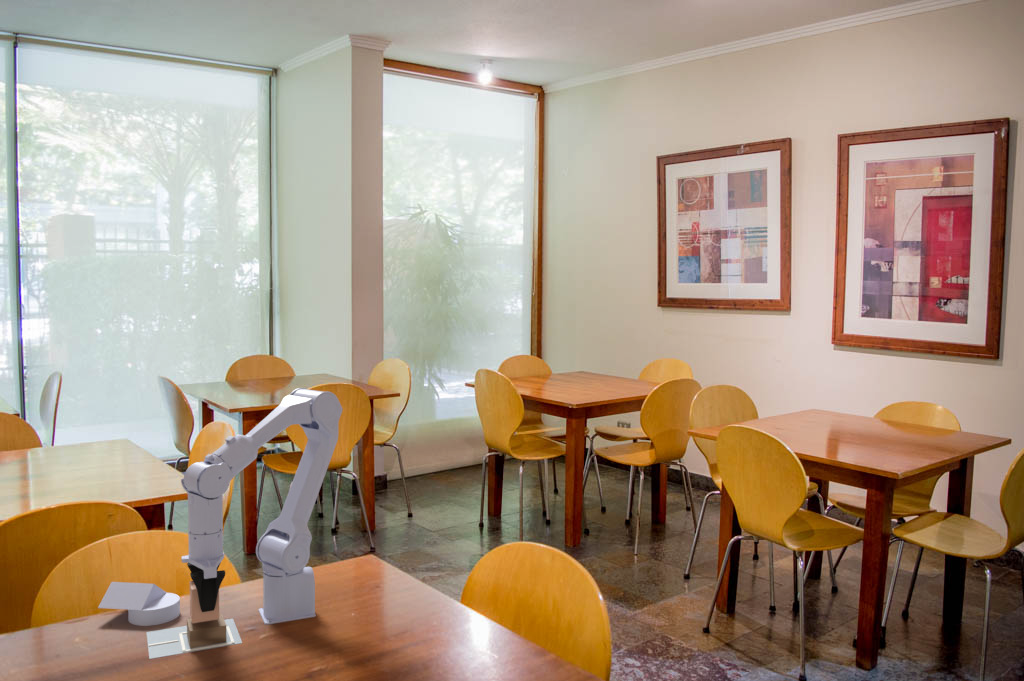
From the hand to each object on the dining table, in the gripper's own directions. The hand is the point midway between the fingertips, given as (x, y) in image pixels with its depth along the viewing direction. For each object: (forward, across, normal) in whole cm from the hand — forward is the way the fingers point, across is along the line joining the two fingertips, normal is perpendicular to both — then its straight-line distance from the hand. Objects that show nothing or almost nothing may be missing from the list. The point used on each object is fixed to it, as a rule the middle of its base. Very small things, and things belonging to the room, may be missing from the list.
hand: (206, 605), depth 144 cm
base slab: (+6, 0, 0) cm, 6 cm away
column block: (+2, 0, 0) cm, 2 cm away
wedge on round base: (+7, -16, -10) cm, 20 cm away
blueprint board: (+6, -2, -2) cm, 7 cm away
